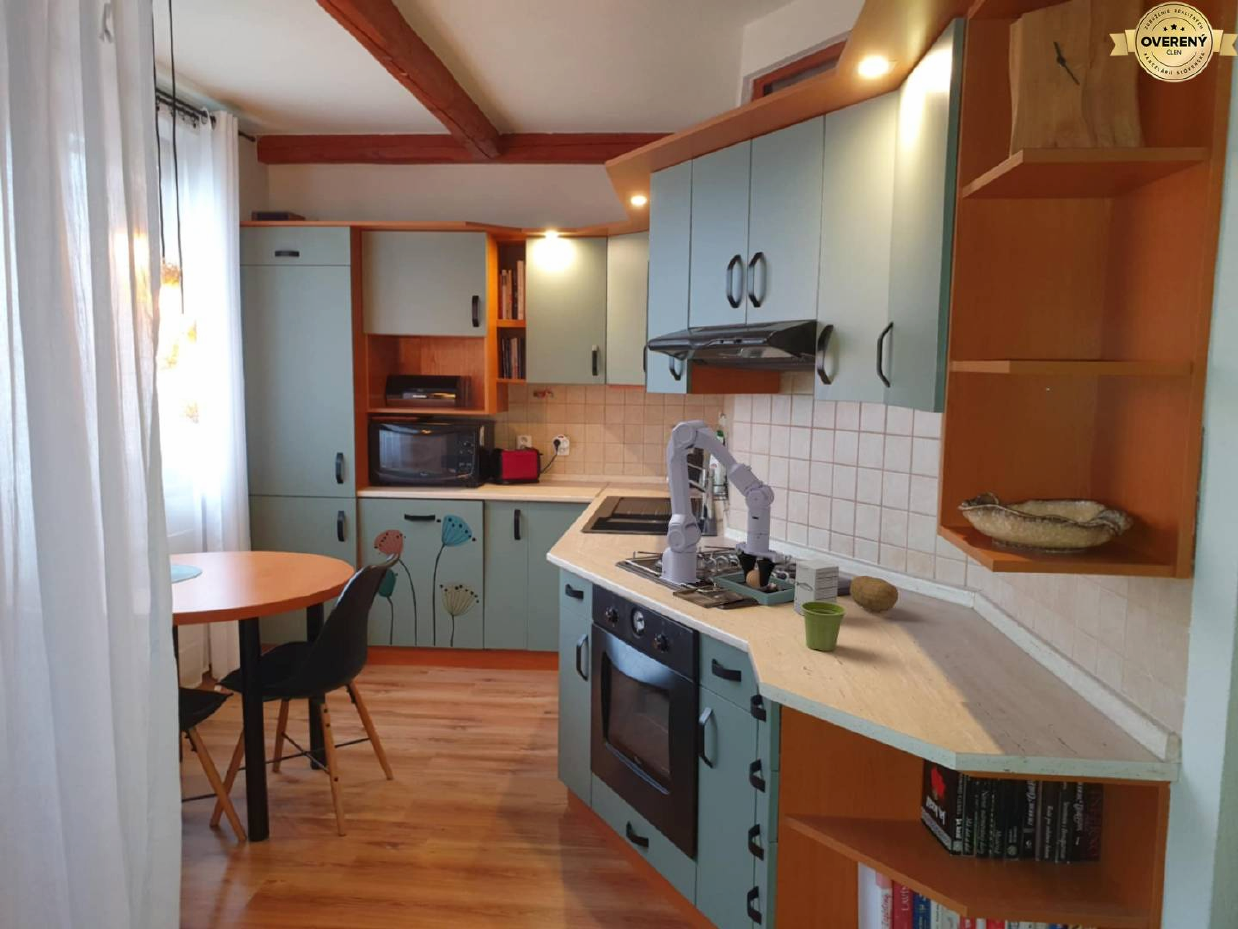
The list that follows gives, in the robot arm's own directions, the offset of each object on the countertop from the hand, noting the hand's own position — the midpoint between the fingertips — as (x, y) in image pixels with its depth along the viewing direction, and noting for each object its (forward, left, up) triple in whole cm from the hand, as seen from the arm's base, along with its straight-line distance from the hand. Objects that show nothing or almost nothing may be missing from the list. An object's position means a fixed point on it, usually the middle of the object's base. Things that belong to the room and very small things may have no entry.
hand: (756, 583), depth 214 cm
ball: (0, 0, -1) cm, 1 cm away
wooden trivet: (-3, -14, -3) cm, 15 cm away
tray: (0, +1, -3) cm, 3 cm away
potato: (+25, +15, -3) cm, 29 cm away
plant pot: (+36, -16, -3) cm, 40 cm away
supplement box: (+20, 0, -3) cm, 20 cm away
